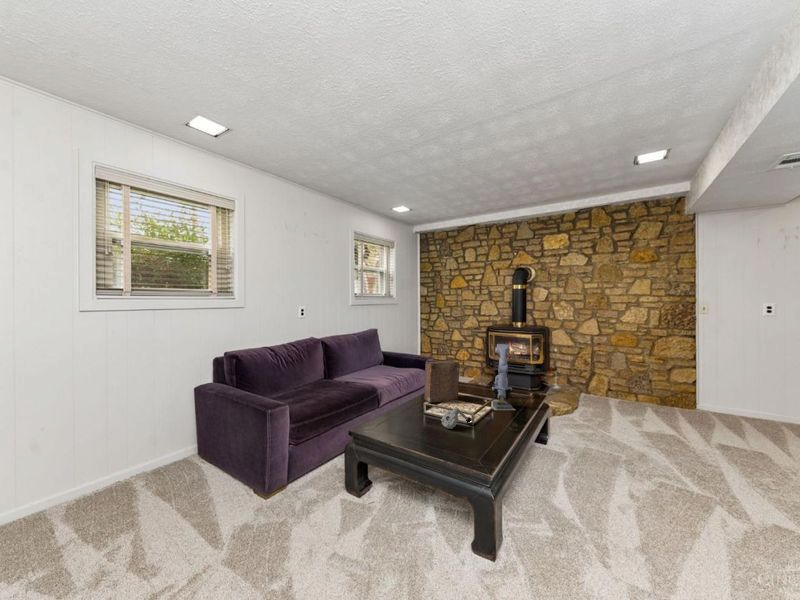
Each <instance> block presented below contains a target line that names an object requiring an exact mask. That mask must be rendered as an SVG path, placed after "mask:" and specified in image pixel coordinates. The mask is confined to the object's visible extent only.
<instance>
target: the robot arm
mask: <svg viewBox="0 0 800 600" xmlns="http://www.w3.org/2000/svg"><path fill="white" fill-rule="evenodd" d="M510 346H511V345H510V344H504V343H497V344H496V354H498V355H499V360H498V368H497V369H498V370H497V371H498V374H497V375H495V378H494V379H495V380H494V386H492V387H491V389H492V391H493V393H494V397H495V400H499V395H504V400H506V401H508V399H509V396H510V394H511V393H512V390H513V387H512V386H508V385H509V378H508V372H509V371H508V370H509V369H508V368H509V366H508V359H507V358H506V356H508V355H509V354H510Z"/></svg>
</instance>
